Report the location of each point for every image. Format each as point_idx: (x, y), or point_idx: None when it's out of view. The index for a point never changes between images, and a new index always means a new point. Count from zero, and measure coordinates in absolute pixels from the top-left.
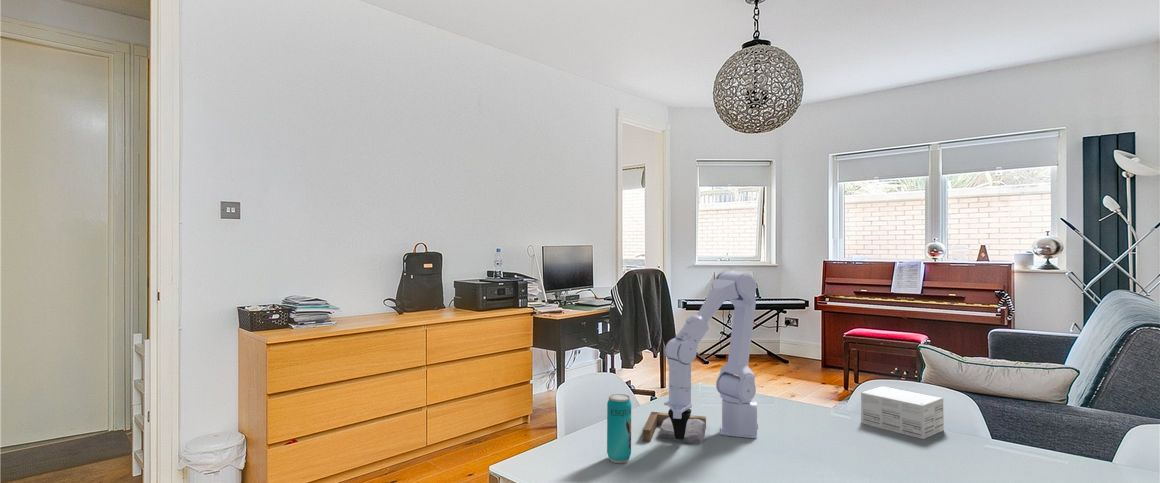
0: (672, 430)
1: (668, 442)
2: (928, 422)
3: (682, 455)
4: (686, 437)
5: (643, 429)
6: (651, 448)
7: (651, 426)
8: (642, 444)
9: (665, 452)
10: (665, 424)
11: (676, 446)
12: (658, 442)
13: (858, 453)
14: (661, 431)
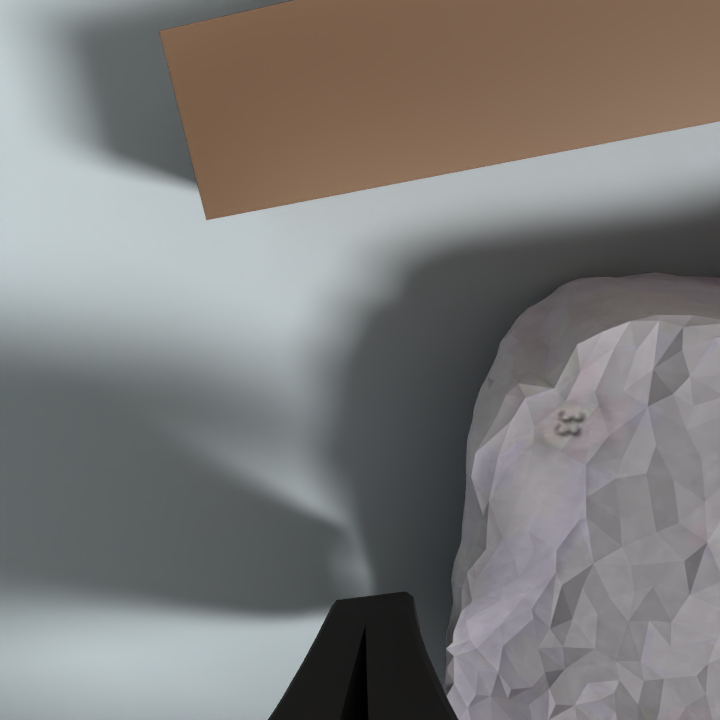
0: (552, 544)
1: (371, 453)
2: None
3: (44, 687)
4: (457, 715)
5: (174, 45)
6: (24, 309)
7: (472, 153)
8: (91, 127)
9: (8, 509)
10: (713, 412)
11: (278, 575)
12: (301, 327)
13: None
14: (550, 331)
